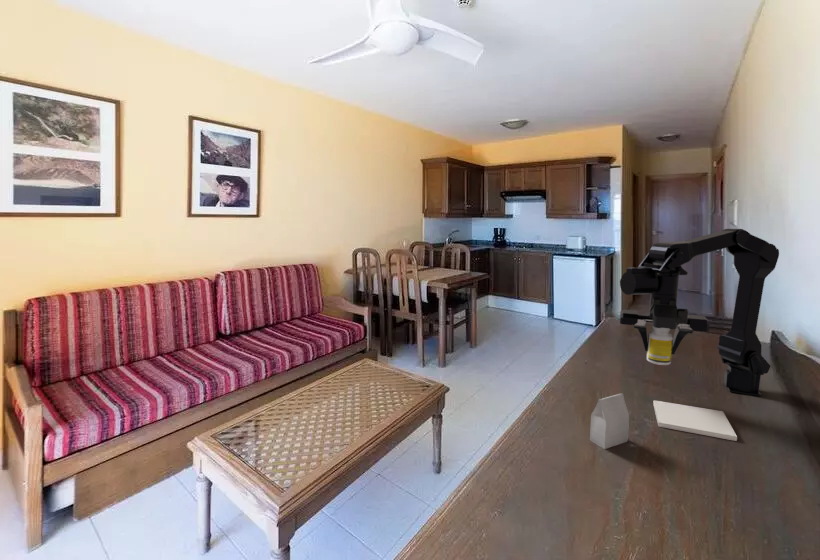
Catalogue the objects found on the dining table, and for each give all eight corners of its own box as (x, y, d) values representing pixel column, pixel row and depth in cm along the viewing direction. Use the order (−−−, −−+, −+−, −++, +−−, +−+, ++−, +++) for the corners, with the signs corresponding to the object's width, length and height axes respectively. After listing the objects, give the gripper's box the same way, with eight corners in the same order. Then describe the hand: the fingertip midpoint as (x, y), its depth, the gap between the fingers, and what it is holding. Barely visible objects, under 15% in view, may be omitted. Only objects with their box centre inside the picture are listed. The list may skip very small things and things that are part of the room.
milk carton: (627, 441, 83) (630, 397, 81) (604, 449, 80) (607, 403, 79) (612, 433, 86) (615, 390, 85) (589, 440, 84) (592, 396, 82)
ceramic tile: (722, 415, 93) (722, 411, 93) (736, 441, 82) (737, 436, 82) (653, 403, 99) (653, 400, 99) (658, 426, 88) (658, 422, 88)
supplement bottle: (674, 366, 98) (678, 328, 96) (650, 365, 99) (653, 327, 98) (665, 358, 103) (668, 322, 102) (643, 357, 104) (645, 321, 103)
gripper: (622, 296, 96) (618, 357, 98) (717, 302, 87) (710, 368, 89) (621, 288, 105) (618, 344, 108) (707, 293, 97) (701, 353, 99)
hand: (659, 352), depth 101 cm, fingers closed on supplement bottle, 5 cm apart
